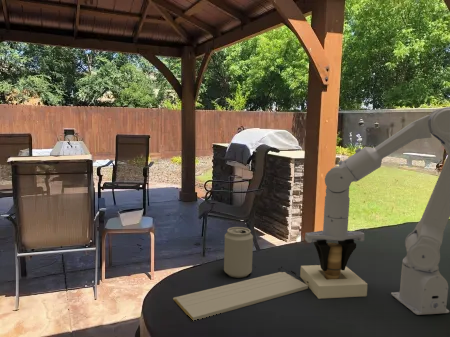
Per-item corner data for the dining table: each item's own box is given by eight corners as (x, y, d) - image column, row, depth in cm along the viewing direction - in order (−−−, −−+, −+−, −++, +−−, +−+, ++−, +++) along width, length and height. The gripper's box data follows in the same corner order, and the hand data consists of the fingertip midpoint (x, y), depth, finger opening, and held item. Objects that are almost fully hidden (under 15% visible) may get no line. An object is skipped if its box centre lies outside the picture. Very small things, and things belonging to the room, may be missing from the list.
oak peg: (343, 283, 89) (345, 247, 88) (327, 284, 88) (329, 248, 87) (335, 276, 93) (337, 242, 92) (320, 277, 92) (322, 242, 91)
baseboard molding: (170, 298, 83) (192, 324, 73) (170, 286, 83) (193, 311, 73) (277, 273, 99) (308, 291, 89) (277, 262, 99) (308, 280, 88)
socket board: (366, 296, 86) (367, 284, 85) (318, 298, 84) (319, 286, 84) (342, 274, 97) (343, 264, 97) (300, 276, 96) (300, 265, 95)
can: (254, 278, 94) (256, 233, 93) (226, 279, 93) (227, 234, 91) (248, 266, 101) (249, 225, 100) (221, 267, 100) (222, 225, 99)
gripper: (355, 211, 93) (352, 261, 95) (301, 212, 91) (299, 263, 93) (370, 218, 86) (366, 272, 88) (312, 219, 84) (309, 275, 86)
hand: (332, 269), depth 90 cm, fingers closed on oak peg, 4 cm apart
